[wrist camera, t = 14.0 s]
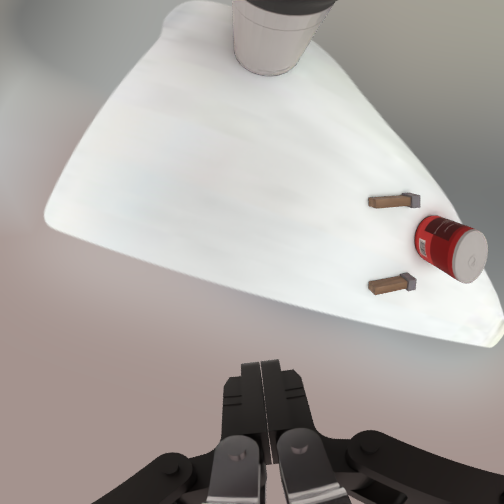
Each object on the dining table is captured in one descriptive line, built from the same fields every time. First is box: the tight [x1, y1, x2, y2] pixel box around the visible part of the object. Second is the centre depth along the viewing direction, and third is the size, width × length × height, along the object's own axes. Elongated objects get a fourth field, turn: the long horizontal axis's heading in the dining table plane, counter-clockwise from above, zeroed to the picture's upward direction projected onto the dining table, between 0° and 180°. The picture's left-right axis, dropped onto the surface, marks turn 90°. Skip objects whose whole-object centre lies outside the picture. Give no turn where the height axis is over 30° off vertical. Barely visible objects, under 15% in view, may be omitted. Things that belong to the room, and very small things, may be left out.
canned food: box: [415, 216, 488, 284], centre depth 35 cm, size 8×8×11 cm
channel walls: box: [369, 195, 411, 295], centre depth 39 cm, size 14×6×2 cm, turn 7°
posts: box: [400, 193, 420, 291], centre depth 38 cm, size 15×2×3 cm, turn 7°
